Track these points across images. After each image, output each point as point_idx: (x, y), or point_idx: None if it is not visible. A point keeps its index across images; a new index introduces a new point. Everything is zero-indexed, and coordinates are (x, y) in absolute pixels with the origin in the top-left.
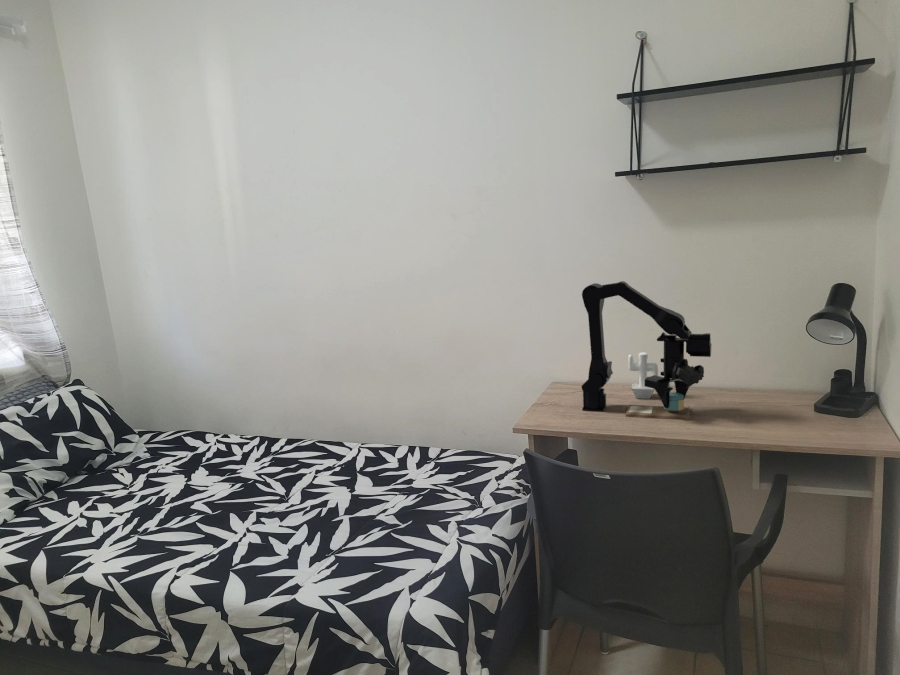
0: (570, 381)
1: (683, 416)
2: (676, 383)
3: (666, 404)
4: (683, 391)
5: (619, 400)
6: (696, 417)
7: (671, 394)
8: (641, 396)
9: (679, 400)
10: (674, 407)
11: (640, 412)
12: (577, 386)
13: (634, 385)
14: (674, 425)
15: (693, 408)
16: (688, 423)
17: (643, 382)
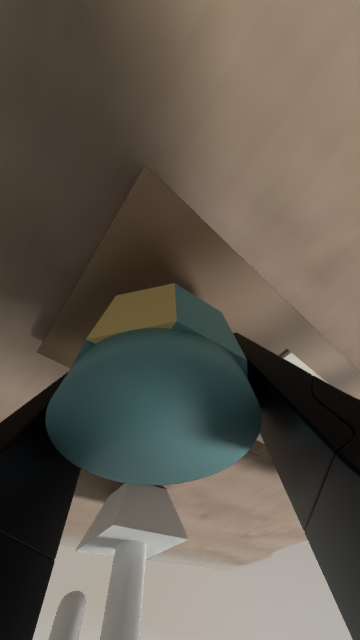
0: (212, 563)
1: (173, 214)
2: (13, 638)
3: (257, 349)
4: (7, 464)
5: (223, 488)
6: (66, 202)
7: (166, 450)
8: (153, 493)
9: (157, 326)
10: (201, 307)
11: (321, 378)
12: (224, 550)
13: (154, 551)
14: (343, 98)
15: (12, 355)
16: (212, 79)
17: (134, 571)
